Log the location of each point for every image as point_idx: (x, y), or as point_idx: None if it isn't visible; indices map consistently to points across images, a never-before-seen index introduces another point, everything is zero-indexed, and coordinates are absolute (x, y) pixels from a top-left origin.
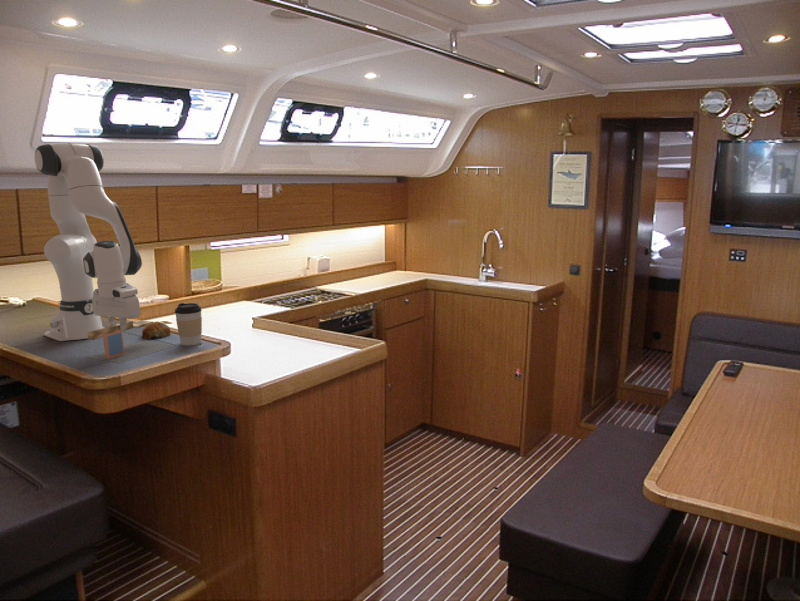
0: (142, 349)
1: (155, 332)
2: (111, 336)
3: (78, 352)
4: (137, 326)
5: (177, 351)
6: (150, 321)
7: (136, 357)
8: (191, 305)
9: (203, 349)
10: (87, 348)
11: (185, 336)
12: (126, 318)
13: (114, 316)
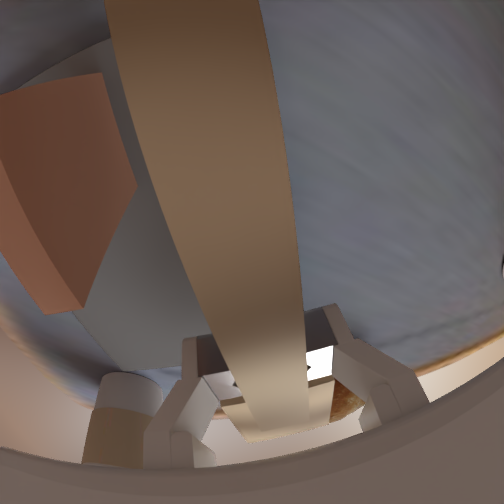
0: (149, 293)
1: None
2: None
3: (448, 85)
4: (222, 407)
5: (81, 349)
6: (261, 439)
7: None
8: None
9: (69, 381)
10: (462, 152)
11: (96, 409)
12: (36, 457)
13: (230, 479)
